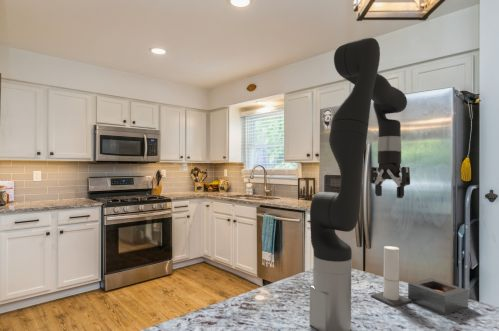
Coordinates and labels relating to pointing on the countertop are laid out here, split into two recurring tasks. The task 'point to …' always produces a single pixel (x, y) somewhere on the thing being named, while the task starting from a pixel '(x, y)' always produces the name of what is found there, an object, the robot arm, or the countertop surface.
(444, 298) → the frame
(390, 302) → the pad
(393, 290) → the tube
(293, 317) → the countertop surface
